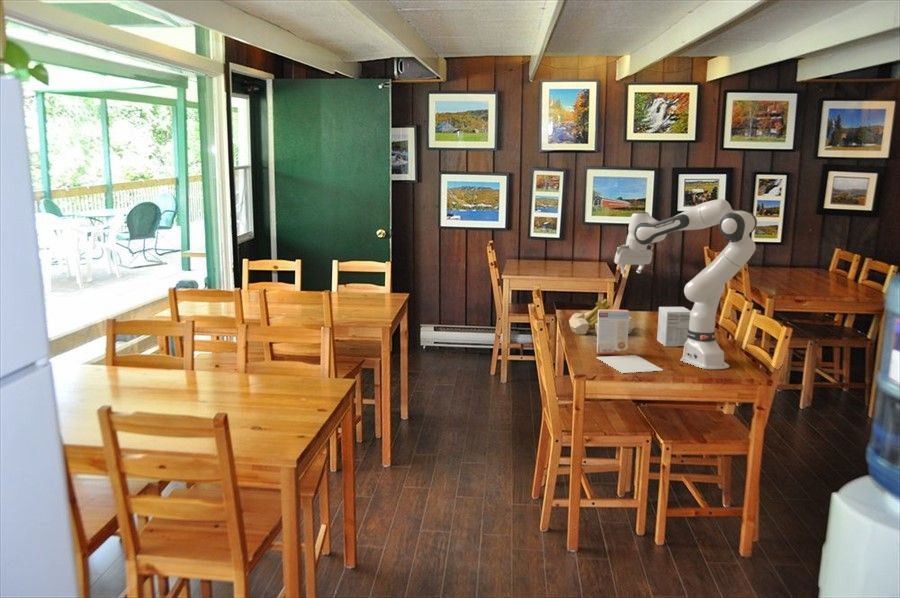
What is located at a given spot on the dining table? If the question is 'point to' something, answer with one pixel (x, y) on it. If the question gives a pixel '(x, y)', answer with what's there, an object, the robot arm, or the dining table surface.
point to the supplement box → (673, 326)
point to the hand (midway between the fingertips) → (630, 273)
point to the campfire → (591, 319)
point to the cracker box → (612, 332)
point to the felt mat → (629, 364)
